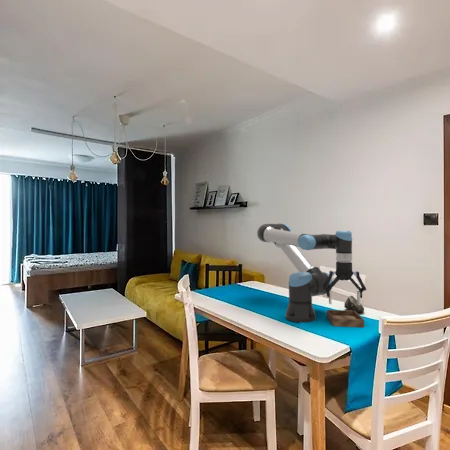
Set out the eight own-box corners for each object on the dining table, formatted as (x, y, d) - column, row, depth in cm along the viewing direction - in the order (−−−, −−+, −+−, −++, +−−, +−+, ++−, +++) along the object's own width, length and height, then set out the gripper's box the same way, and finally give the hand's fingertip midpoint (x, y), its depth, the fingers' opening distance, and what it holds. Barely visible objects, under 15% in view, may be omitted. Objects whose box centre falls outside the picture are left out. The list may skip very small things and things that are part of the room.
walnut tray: (332, 326, 141) (332, 318, 141) (326, 316, 156) (326, 309, 156) (364, 327, 139) (364, 319, 139) (355, 317, 154) (354, 310, 154)
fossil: (368, 312, 158) (358, 296, 159) (352, 320, 160) (342, 303, 160) (362, 307, 169) (353, 291, 170) (347, 314, 170) (338, 298, 171)
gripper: (319, 262, 146) (319, 305, 146) (373, 262, 143) (373, 306, 142) (317, 260, 154) (317, 301, 153) (367, 261, 150) (368, 302, 150)
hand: (344, 304), depth 148 cm, fingers open, 13 cm apart
